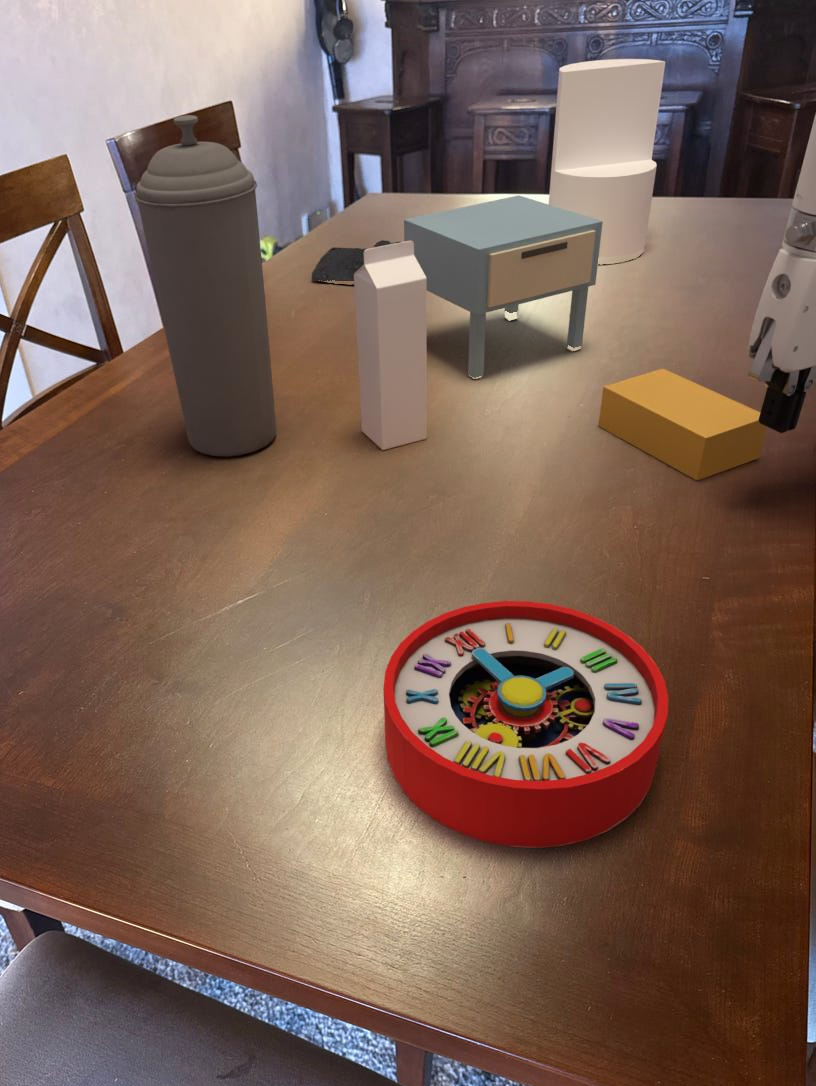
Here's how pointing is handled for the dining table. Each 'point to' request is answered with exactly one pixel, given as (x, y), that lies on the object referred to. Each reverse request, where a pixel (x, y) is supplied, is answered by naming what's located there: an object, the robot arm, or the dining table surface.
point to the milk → (392, 345)
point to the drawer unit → (506, 260)
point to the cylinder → (607, 147)
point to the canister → (210, 291)
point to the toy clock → (523, 722)
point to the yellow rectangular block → (682, 423)
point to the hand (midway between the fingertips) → (776, 426)
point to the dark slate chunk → (341, 263)
